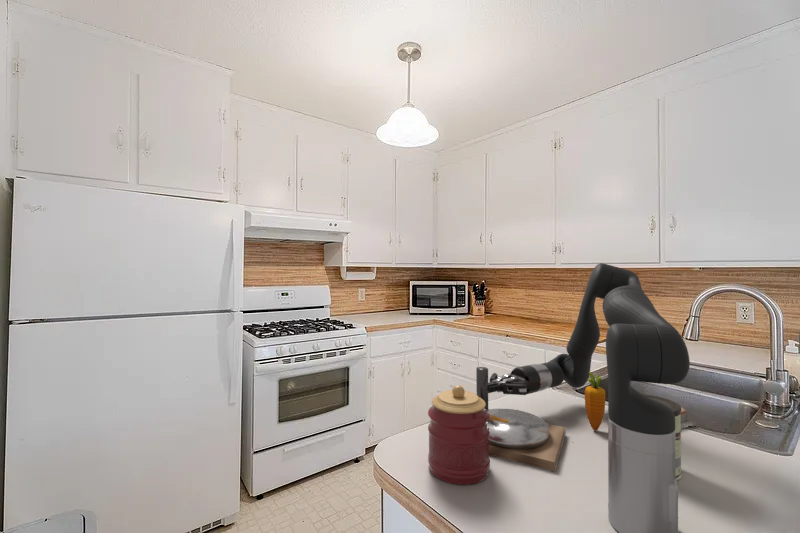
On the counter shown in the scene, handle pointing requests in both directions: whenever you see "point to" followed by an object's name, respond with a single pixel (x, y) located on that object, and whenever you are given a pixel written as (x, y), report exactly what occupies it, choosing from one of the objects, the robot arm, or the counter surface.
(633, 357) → the robot arm
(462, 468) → the canister
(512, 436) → the wheel
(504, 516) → the counter surface
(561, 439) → the base board
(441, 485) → the counter surface
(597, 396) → the carrot
